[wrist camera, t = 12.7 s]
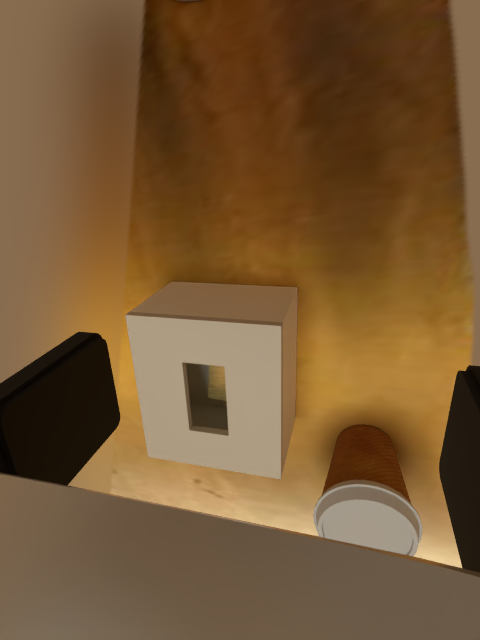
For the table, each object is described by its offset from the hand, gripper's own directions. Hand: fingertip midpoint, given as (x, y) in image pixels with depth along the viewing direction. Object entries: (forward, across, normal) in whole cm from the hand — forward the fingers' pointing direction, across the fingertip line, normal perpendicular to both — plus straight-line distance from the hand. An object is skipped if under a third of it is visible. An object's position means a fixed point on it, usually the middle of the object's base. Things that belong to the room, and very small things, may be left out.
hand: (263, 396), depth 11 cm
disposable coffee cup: (+31, -5, +26) cm, 40 cm away
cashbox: (+30, +10, +15) cm, 35 cm away
